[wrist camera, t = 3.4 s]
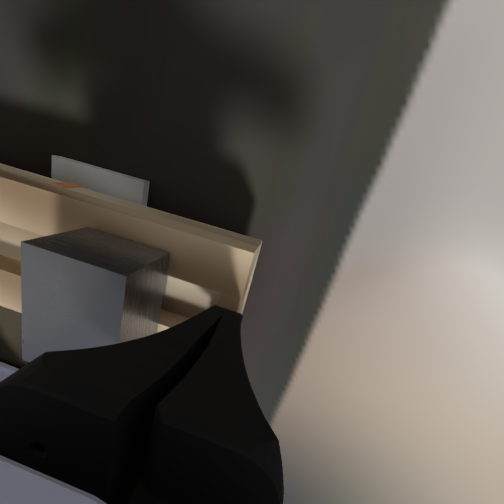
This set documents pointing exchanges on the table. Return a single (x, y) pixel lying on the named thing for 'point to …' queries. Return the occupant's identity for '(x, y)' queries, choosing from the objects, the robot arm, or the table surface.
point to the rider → (88, 291)
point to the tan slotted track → (123, 234)
